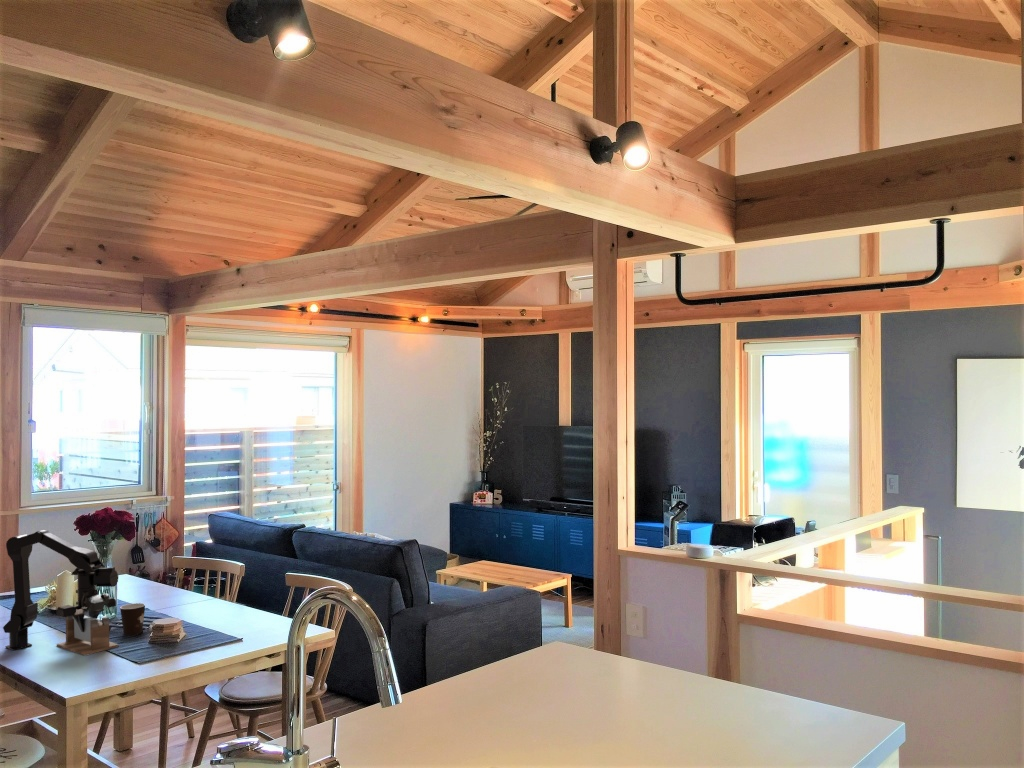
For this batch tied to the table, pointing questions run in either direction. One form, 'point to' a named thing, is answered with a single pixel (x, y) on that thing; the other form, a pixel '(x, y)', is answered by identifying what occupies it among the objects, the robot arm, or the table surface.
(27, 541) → the robot arm
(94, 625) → the hinge frame
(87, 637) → the door
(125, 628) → the coffee mug
